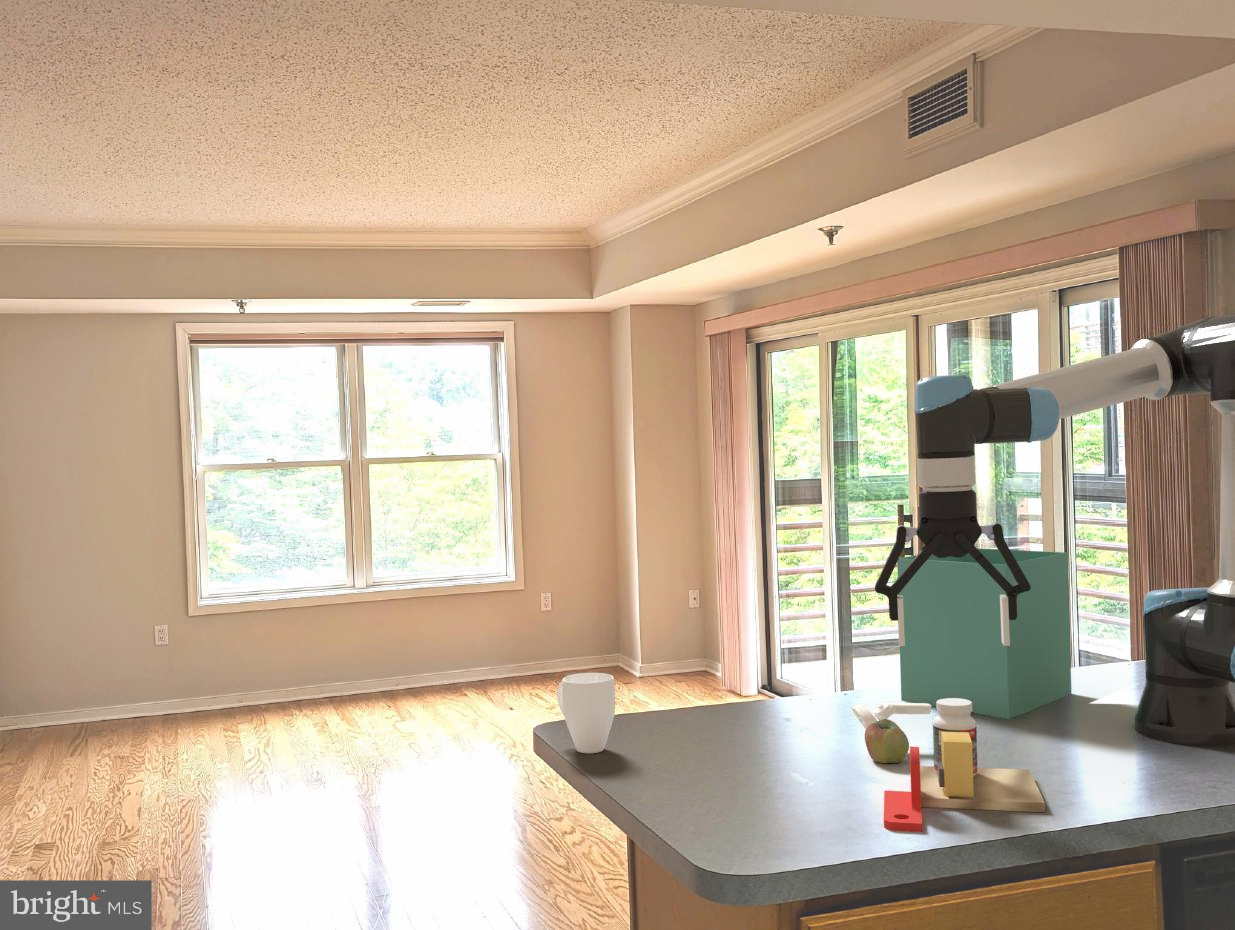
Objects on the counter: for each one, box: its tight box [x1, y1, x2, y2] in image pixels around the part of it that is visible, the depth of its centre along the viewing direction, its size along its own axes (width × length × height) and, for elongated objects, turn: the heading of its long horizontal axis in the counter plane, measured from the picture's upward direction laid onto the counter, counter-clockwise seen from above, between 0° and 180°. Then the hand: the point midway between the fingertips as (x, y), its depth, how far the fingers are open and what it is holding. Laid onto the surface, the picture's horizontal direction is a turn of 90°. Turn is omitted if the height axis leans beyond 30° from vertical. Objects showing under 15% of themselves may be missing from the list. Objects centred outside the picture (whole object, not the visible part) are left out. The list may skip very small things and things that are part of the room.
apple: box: [864, 718, 910, 765], centre depth 159 cm, size 6×8×6 cm
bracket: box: [883, 745, 923, 833], centre depth 136 cm, size 12×4×8 cm, turn 166°
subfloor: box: [920, 765, 1046, 813], centre depth 143 cm, size 15×14×1 cm
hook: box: [851, 702, 932, 730], centre depth 165 cm, size 8×12×7 cm, turn 78°
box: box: [896, 547, 1072, 719], centre depth 195 cm, size 23×21×26 cm
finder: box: [938, 732, 974, 797], centre depth 140 cm, size 7×5×4 cm
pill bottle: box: [932, 698, 979, 777], centre depth 147 cm, size 6×6×10 cm
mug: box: [557, 672, 616, 754], centre depth 171 cm, size 12×8×11 cm
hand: (953, 644), depth 147 cm, fingers open, 13 cm apart
